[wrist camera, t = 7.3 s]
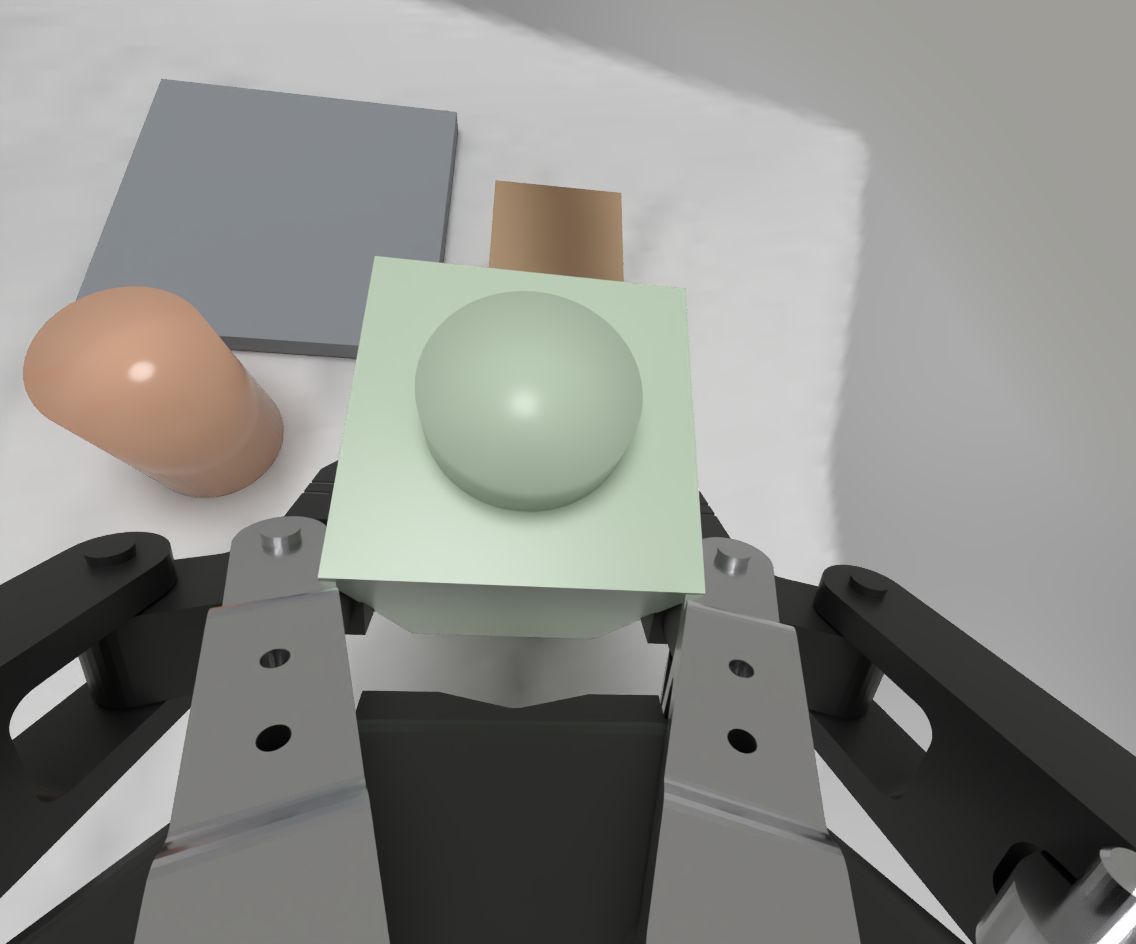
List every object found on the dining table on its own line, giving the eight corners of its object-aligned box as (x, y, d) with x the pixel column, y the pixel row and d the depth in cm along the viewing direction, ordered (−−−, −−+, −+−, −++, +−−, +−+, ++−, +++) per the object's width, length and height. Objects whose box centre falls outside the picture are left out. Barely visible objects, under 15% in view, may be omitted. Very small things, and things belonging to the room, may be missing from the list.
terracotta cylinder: (131, 494, 21) (-4, 427, 15) (166, 378, 23) (56, 279, 17) (270, 500, 21) (188, 437, 16) (293, 386, 23) (227, 292, 18)
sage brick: (412, 633, 15) (297, 565, 6) (431, 463, 17) (363, 216, 8) (592, 638, 16) (729, 584, 7) (592, 473, 18) (702, 254, 8)
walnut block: (490, 358, 25) (487, 285, 20) (496, 267, 26) (495, 180, 22) (601, 366, 25) (623, 296, 21) (600, 276, 27) (621, 193, 22)
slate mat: (83, 339, 23) (66, 324, 22) (172, 98, 28) (161, 78, 27) (431, 363, 24) (429, 350, 23) (457, 130, 29) (456, 112, 28)
